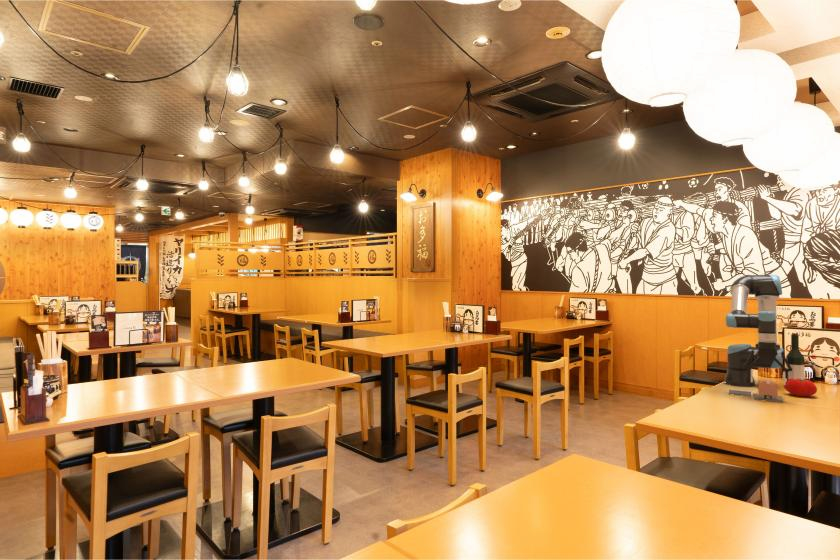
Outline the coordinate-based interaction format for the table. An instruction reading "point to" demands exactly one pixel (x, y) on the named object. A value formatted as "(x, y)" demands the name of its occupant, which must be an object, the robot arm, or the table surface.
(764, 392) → the orange block
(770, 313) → the robot arm
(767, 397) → the grey peg stand
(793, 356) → the wine bottle
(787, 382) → the tomato
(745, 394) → the mat
